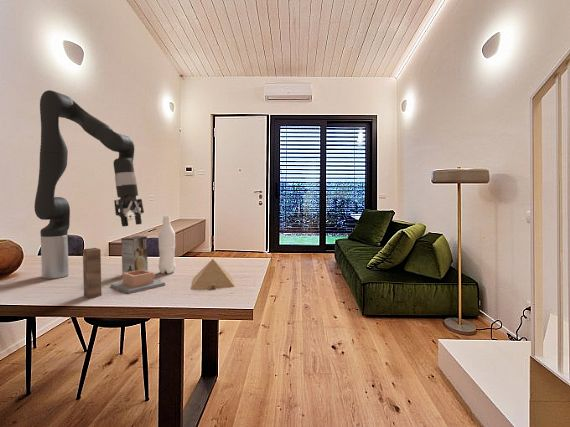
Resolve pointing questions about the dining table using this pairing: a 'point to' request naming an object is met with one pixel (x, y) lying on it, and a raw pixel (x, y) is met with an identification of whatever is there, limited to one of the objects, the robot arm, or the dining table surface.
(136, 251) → the coffee box
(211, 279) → the model pyramid
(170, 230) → the water bottle
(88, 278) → the walnut slat
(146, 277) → the end cap socket
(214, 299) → the dining table surface
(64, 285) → the dining table surface
